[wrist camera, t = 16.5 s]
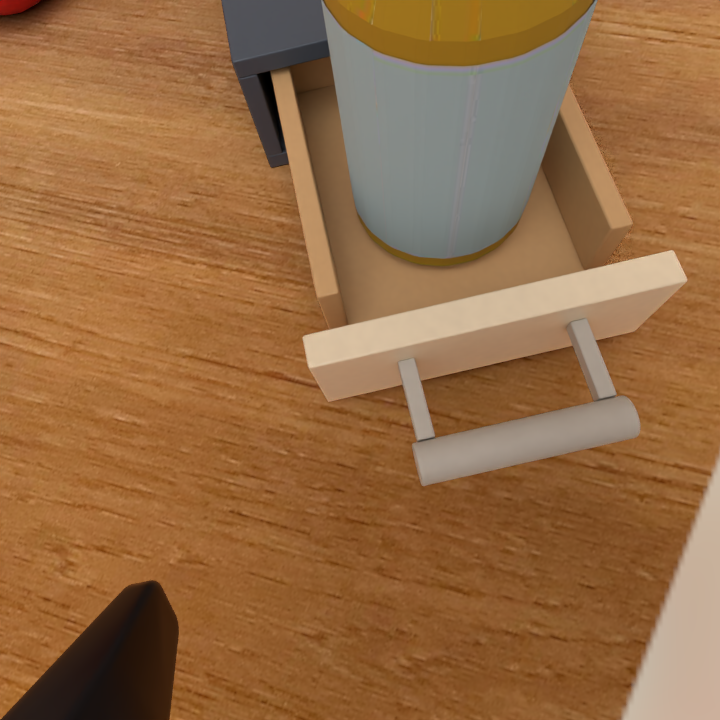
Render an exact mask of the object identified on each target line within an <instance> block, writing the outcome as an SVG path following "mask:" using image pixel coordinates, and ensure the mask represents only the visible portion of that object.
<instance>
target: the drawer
mask: <svg viewBox="0 0 720 720" xmlns="http://www.w3.org/2000/svg"><path fill="white" fill-rule="evenodd" d="M270 72H271V77H272V82H273V87H274V92H275V97H276V102H277V106H278V111H279V116H280V121H281V126H282V131H283V136H284V141H285V146H286V150H287V155H288V160H289V165H290V170H291V175H292V180H293V185H294V190H295V195H296V199H297V204H298V209H299V214H300V219H301V224H302V229H303V234H304V239H305V244H306V248H307V253H308V258H309V263H310V268H311V273H312V278H313V283H314V288H315V292H316V297H317V300H318V302H319V305H320V308H321V310H322V313H323V316H324V318H325V321H326V323H327V326H328V329H329V330H325V331H321V332H317V333H312V334H308V335H304V336H303V343H304V348H305V353H306V359H307V364H308V368H309V370H310V371H311V373H312V375H313V377H314V378H315V380H316V382H317V383H318V385H319V387H320V389H321V390H322V392H323V394H324V396H325V397H326V399H327V401H329V402H330V401H335V400H339V399H343V398H348V397H352V396H356V395H361V394H365V393H369V392H374V391H378V390H382V389H387V388H391V387H395V386H400V385H403V389H404V393H405V397H406V401H407V405H408V409H409V413H410V417H411V421H412V425H413V429H414V433H415V436H416V440H417V442H415V443H413V444H412V450H413V455H414V459H415V464H416V468H417V472H418V475H419V479H420V482H421V485H422V486H426V485H430V484H435V483H439V482H443V481H448V480H452V479H457V478H461V477H466V476H470V475H474V474H479V473H483V472H488V471H492V470H496V469H501V468H505V467H510V466H514V465H518V464H523V463H527V462H532V461H536V460H540V459H545V458H549V457H554V456H558V455H562V454H567V453H571V452H576V451H580V450H584V449H589V448H593V447H598V446H602V445H606V444H611V443H615V442H620V441H624V440H628V439H633V438H636V437H637V436H638V435H639V433H640V420H639V416H638V413H637V411H636V408H635V406H634V405H633V403H632V402H631V401H630V399H629V398H627V397H626V396H617V397H614V396H616V395H617V393H616V391H615V388H614V386H613V383H612V380H611V378H610V375H609V373H608V370H607V368H606V365H605V363H604V360H603V358H602V355H601V353H600V350H599V348H598V345H597V343H596V340H600V339H604V338H608V337H613V336H617V335H622V334H626V333H630V332H634V331H635V330H636V329H638V328H639V327H640V326H641V325H642V324H643V323H644V322H645V321H646V320H647V319H648V318H649V317H650V316H651V315H652V314H653V313H654V312H655V311H656V310H657V309H659V308H660V307H661V306H662V305H663V304H664V303H665V302H666V301H667V300H668V299H669V298H670V297H671V296H672V295H673V294H674V293H675V292H676V291H677V290H678V289H680V288H681V287H682V286H683V285H684V284H685V283H686V282H687V277H686V275H685V273H684V271H683V269H682V267H681V265H680V263H679V261H678V259H677V257H676V255H675V252H674V251H673V250H670V251H666V252H661V253H657V254H653V255H649V256H644V257H640V258H636V259H631V260H627V261H623V262H618V263H614V264H610V265H605V264H606V263H607V261H608V260H609V258H610V257H611V255H612V254H613V252H614V251H615V250H616V248H617V247H618V245H619V244H620V242H621V241H622V239H623V238H624V237H625V235H626V234H627V232H628V231H629V229H630V228H631V227H632V225H633V221H632V219H631V217H630V215H629V213H628V211H627V208H626V206H625V204H624V202H623V200H622V198H621V195H620V193H619V191H618V189H617V187H616V185H615V182H614V180H613V178H612V176H611V174H610V172H609V169H608V167H607V165H606V163H605V161H604V159H603V156H602V154H601V152H600V150H599V148H598V146H597V143H596V141H595V139H594V137H593V135H592V133H591V130H590V128H589V126H588V124H587V122H586V120H585V117H584V115H583V113H582V111H581V109H580V107H579V104H578V102H577V100H576V98H575V96H574V94H573V91H572V89H571V87H570V85H569V84H568V87H567V90H566V93H565V96H564V99H563V101H562V104H561V107H560V110H559V113H558V116H557V119H556V122H555V125H554V128H553V130H552V133H551V136H550V139H549V142H548V145H547V148H546V151H545V154H544V156H543V159H542V162H541V165H540V168H539V171H538V174H537V177H536V180H535V183H534V185H533V188H532V191H531V194H530V197H529V200H528V202H527V205H526V207H525V209H524V212H523V214H522V216H521V218H520V220H519V223H518V225H517V227H516V228H515V230H514V231H513V233H512V234H511V235H510V236H509V237H508V238H507V239H506V240H505V241H504V242H503V243H502V244H501V245H500V246H499V247H497V248H496V249H495V250H493V251H491V252H489V253H487V254H485V255H483V256H482V257H480V258H478V259H476V260H473V261H470V262H466V263H461V264H456V265H451V266H431V265H420V264H415V263H412V262H409V261H407V260H404V259H401V258H399V257H396V256H394V255H392V254H390V253H388V252H387V251H386V250H385V249H383V248H382V247H381V246H379V245H378V244H377V243H376V242H374V241H373V240H372V239H371V237H370V236H369V235H368V233H367V232H366V230H365V229H364V227H363V225H362V224H361V222H360V220H359V218H358V215H357V210H356V207H355V202H354V198H353V193H352V187H351V181H350V175H349V169H348V163H347V156H346V150H345V144H344V138H343V132H342V125H341V119H340V113H339V107H338V101H337V95H336V88H335V82H334V76H333V70H332V64H331V57H326V58H321V59H317V60H313V61H309V62H305V63H301V64H296V65H292V66H288V67H284V68H280V69H275V70H271V71H270ZM604 265H605V266H604ZM569 346H573V348H574V351H575V353H576V356H577V358H578V361H579V364H580V366H581V369H582V372H583V374H584V377H585V380H586V382H587V385H588V388H589V390H590V393H591V395H592V398H593V401H594V402H590V403H586V404H582V405H577V406H573V407H569V408H564V409H560V410H555V411H551V412H547V413H542V414H538V415H533V416H529V417H525V418H520V419H516V420H512V421H507V422H503V423H498V424H494V425H490V426H485V427H481V428H477V429H472V430H468V431H463V432H459V433H455V434H450V435H446V436H442V437H437V438H435V433H434V429H433V425H432V421H431V418H430V414H429V410H428V406H427V403H426V399H425V395H424V391H423V387H422V384H421V381H422V380H426V379H430V378H435V377H439V376H443V375H448V374H452V373H456V372H461V371H465V370H469V369H474V368H478V367H482V366H487V365H491V364H495V363H500V362H504V361H508V360H513V359H517V358H522V357H526V356H530V355H535V354H539V353H543V352H548V351H552V350H556V349H561V348H565V347H569Z"/></svg>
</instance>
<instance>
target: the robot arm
mask: <svg viewBox="0 0 720 720" xmlns="http://www.w3.org/2000/svg"><path fill="white" fill-rule="evenodd" d="M178 635H179V626H178V620H177V617H176V615H175V613H174V611H173V609H172V607H171V605H170V603H169V601H168V599H167V596H166V594H165V592H164V590H163V588H162V587H161V585H160V584H159V583H158V582H157V581H153V580H151V581H146V582H141V583H136V584H131V585H129V586H127V587H126V588H125V589H124V590H122V592H121V593H120V594H119V595H118V596H117V597H116V598H115V599H114V600H113V601H112V602H111V603H110V604H109V605H108V606H107V607H106V608H105V610H104V611H103V612H102V613H101V614H100V615H99V616H98V617H97V618H96V619H95V620H94V621H93V622H92V623H91V624H90V625H89V627H88V628H87V629H86V630H85V631H84V632H83V633H82V634H81V635H80V636H79V637H78V638H77V639H76V640H75V641H74V642H73V643H72V645H71V646H70V647H69V648H68V649H67V650H66V651H65V652H64V653H63V654H62V655H61V656H60V657H59V658H58V659H57V660H56V661H55V663H54V664H53V665H52V666H51V667H50V668H49V669H48V670H47V671H46V672H45V673H44V674H43V675H42V676H41V677H40V678H39V680H38V681H37V682H36V683H35V684H34V685H33V686H32V687H31V688H30V689H29V690H28V691H27V692H26V693H25V694H24V695H23V696H22V698H21V699H20V700H19V701H18V702H17V703H16V704H15V705H14V706H13V707H12V708H11V709H10V710H9V711H8V712H7V713H6V715H5V716H4V717H3V718H2V719H1V720H169V719H170V709H171V700H172V691H173V682H174V672H175V663H176V654H177V644H178Z"/></svg>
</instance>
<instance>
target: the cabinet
mask: <svg viewBox="0 0 720 720" xmlns="http://www.w3.org/2000/svg"><path fill="white" fill-rule="evenodd" d="M221 1H222V7H223V13H224V19H225V24H226V30H227V36H228V42H229V48H230V53H231V59H232V64H233V66H234V69H235V72H236V75H237V77H238V80H239V83H240V85H241V88H242V91H243V94H244V96H245V99H246V102H247V104H248V107H249V110H250V113H251V115H252V118H253V121H254V123H255V126H256V129H257V132H258V134H259V137H260V140H261V142H262V145H263V148H264V150H265V153H266V155H267V159H268V161H269V164H270V167H276V166H281V165H285V164H289V160H288V155H287V150H286V146H285V141H284V136H283V131H282V126H281V121H280V116H279V111H278V106H277V102H276V97H275V92H274V87H273V82H272V77H271V72H270V71H271V70H275V69H280V68H284V67H288V66H292V65H296V64H301V63H305V62H309V61H313V60H317V59H321V58H326V57H330V51H329V45H328V39H327V33H326V27H325V20H324V14H323V8H322V2H321V0H221Z"/></svg>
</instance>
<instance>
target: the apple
mask: <svg viewBox="0 0 720 720" xmlns="http://www.w3.org/2000/svg"><path fill="white" fill-rule="evenodd" d="M39 1H41V0H0V15H4V16H5V15H10V14H16V13H21V12H23V11H25V10H27V9H28V8H30V7H32V6H33V5H35V4H37V3H38V2H39Z"/></svg>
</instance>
